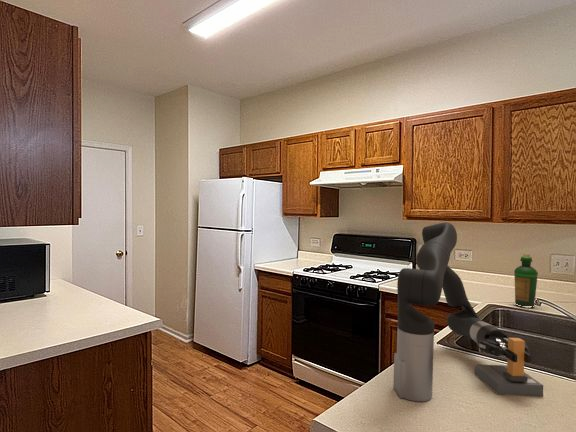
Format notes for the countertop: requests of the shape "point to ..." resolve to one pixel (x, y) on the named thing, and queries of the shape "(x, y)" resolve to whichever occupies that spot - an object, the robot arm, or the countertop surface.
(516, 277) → the bottle
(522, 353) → the handle
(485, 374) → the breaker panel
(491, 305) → the countertop surface
